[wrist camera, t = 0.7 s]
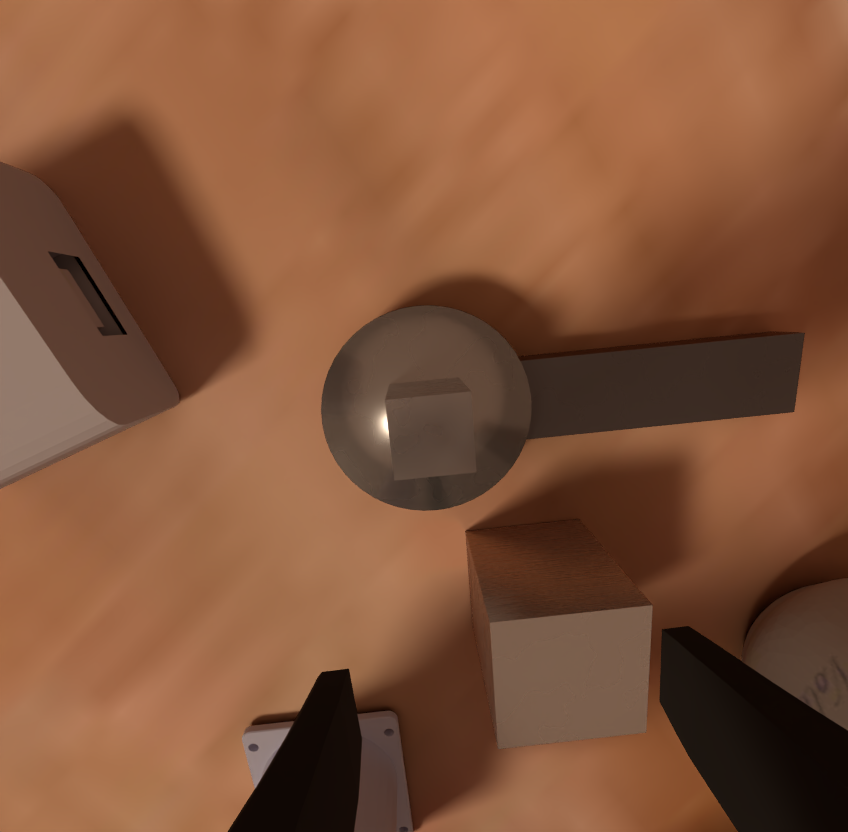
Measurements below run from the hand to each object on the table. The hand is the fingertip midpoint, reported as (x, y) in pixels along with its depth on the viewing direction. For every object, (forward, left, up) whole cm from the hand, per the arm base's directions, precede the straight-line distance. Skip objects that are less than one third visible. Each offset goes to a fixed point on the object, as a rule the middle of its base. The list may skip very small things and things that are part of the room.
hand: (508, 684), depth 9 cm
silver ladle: (+5, -4, -10) cm, 12 cm away
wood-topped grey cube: (-4, -3, -10) cm, 11 cm away
